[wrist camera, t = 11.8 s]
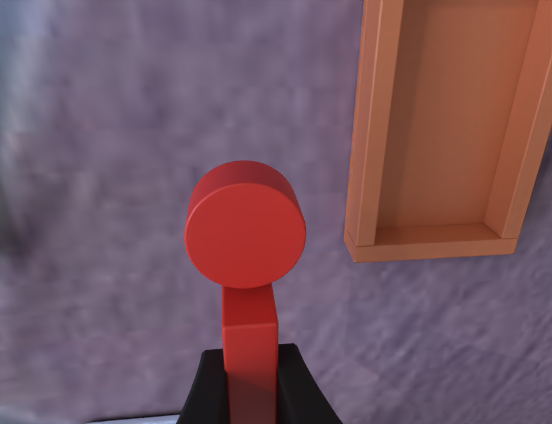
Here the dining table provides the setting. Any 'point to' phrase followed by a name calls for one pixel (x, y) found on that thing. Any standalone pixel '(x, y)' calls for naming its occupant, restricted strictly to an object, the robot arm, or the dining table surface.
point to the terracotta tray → (447, 126)
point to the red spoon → (246, 273)
